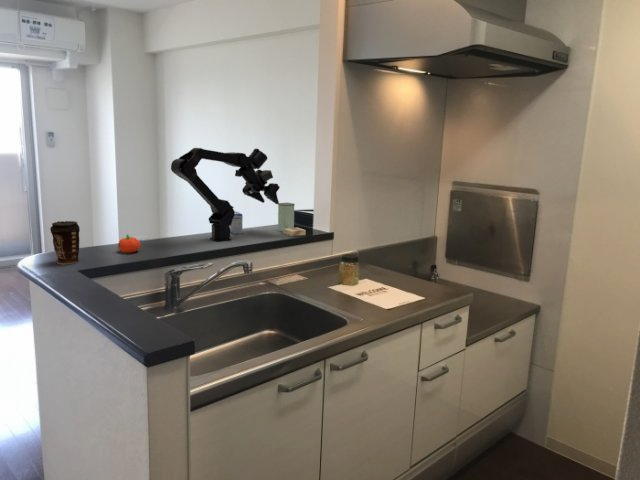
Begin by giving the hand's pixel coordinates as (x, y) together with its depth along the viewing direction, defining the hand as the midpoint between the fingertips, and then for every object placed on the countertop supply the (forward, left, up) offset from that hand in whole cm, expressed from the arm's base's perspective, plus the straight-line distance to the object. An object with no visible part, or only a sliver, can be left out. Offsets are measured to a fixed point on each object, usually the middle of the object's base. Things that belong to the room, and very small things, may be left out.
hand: (270, 202), depth 226 cm
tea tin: (+9, +2, -13) cm, 16 cm away
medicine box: (-13, +8, -13) cm, 20 cm away
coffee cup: (-83, -16, -13) cm, 86 cm away
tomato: (-62, -10, -13) cm, 65 cm away
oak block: (+8, -7, -14) cm, 17 cm away
